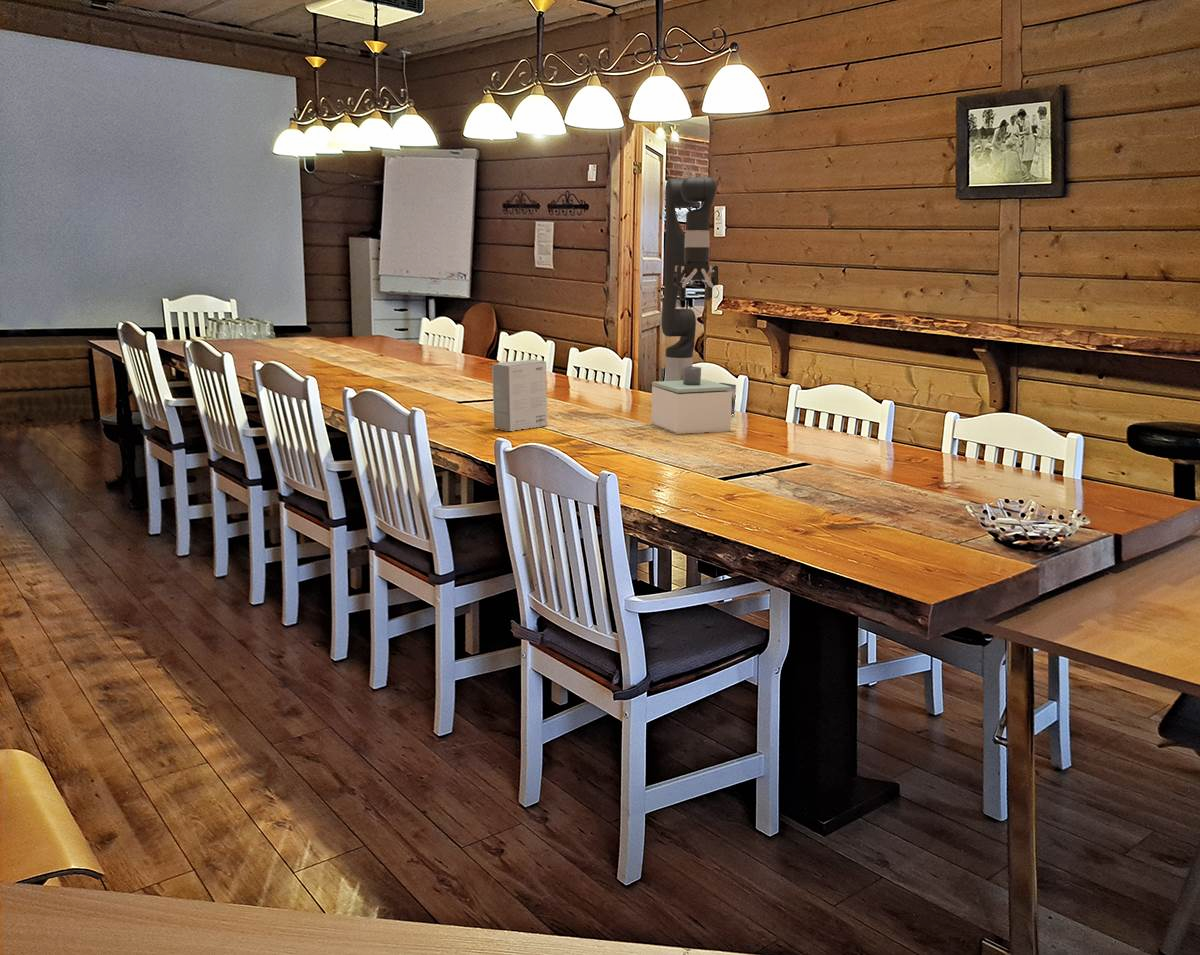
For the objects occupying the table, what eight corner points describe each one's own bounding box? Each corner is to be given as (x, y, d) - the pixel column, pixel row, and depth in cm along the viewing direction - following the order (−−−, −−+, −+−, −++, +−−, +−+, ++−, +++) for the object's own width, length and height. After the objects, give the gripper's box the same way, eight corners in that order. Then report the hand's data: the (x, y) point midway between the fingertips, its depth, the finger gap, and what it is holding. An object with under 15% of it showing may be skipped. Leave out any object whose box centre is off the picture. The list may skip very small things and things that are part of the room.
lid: (652, 385, 327) (652, 381, 326) (704, 382, 333) (704, 379, 333) (678, 392, 310) (678, 389, 310) (732, 390, 317) (732, 386, 317)
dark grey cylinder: (680, 382, 323) (681, 366, 322) (696, 382, 325) (697, 366, 324) (687, 385, 318) (687, 369, 317) (703, 385, 320) (703, 368, 319)
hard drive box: (531, 423, 330) (531, 359, 325) (548, 426, 324) (547, 361, 320) (492, 429, 319) (491, 362, 315) (508, 432, 314) (508, 365, 309)
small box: (719, 420, 339) (720, 387, 336) (701, 417, 343) (702, 385, 340) (735, 415, 347) (737, 383, 345) (718, 413, 351) (719, 382, 348)
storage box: (651, 424, 329) (652, 386, 327) (702, 421, 336) (704, 383, 333) (676, 434, 313) (678, 394, 310) (730, 431, 320) (732, 391, 317)
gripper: (711, 245, 326) (710, 299, 330) (670, 245, 321) (668, 299, 325) (723, 246, 319) (721, 300, 323) (681, 245, 314) (679, 301, 318)
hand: (695, 300), depth 324 cm, fingers open, 8 cm apart
